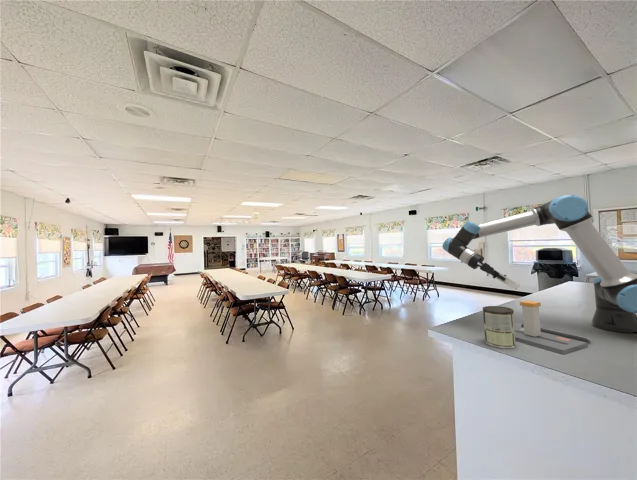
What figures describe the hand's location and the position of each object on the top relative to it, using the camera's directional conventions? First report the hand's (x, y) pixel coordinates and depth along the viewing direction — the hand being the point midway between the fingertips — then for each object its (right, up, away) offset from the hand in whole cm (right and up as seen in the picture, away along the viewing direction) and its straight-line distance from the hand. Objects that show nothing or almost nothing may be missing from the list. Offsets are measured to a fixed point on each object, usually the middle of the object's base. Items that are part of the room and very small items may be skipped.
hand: (515, 286), depth 116 cm
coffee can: (-16, -21, -12) cm, 29 cm away
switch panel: (+1, -20, -9) cm, 22 cm away
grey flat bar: (+13, -20, -5) cm, 24 cm away
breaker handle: (+1, -19, -8) cm, 20 cm away
